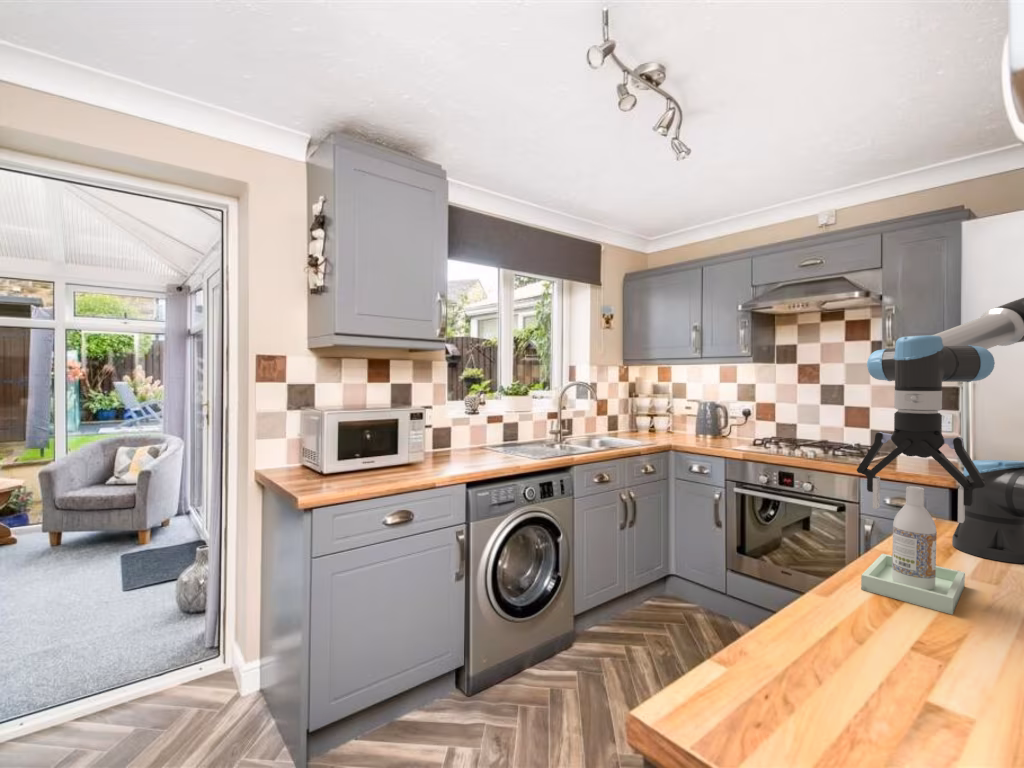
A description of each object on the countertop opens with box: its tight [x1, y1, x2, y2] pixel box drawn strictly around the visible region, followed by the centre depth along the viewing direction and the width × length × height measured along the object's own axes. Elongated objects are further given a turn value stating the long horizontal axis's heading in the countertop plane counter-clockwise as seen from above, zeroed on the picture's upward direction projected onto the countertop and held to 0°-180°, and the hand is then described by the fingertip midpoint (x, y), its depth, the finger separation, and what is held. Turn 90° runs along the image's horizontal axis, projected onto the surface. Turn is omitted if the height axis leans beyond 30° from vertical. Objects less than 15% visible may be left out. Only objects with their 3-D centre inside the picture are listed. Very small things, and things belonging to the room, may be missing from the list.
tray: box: [860, 553, 966, 616], centre depth 101 cm, size 18×14×3 cm
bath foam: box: [891, 485, 938, 590], centre depth 101 cm, size 7×7×20 cm
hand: (916, 514), depth 101 cm, fingers open, 13 cm apart
